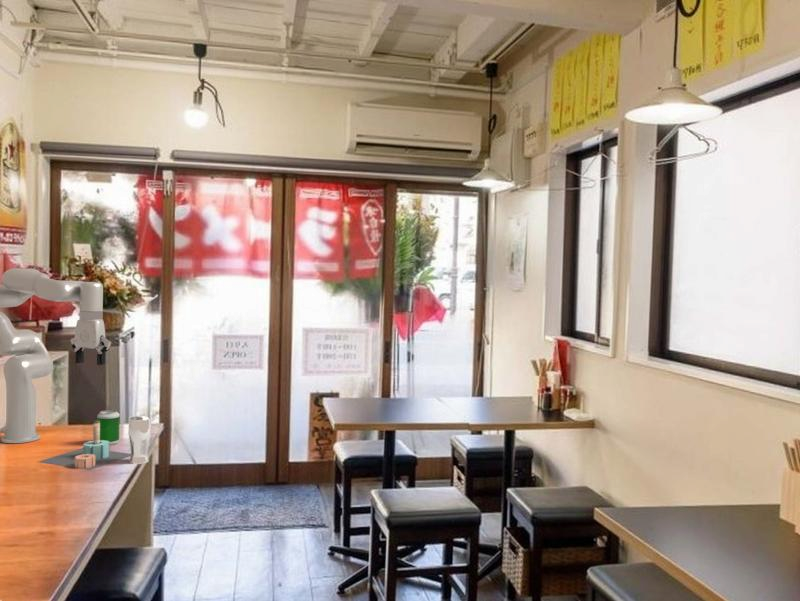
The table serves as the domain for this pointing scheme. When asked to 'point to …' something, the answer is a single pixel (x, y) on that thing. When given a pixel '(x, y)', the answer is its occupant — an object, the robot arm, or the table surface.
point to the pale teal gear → (97, 449)
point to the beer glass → (139, 438)
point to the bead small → (85, 461)
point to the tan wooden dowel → (96, 432)
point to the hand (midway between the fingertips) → (90, 363)
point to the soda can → (109, 426)
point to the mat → (69, 457)
